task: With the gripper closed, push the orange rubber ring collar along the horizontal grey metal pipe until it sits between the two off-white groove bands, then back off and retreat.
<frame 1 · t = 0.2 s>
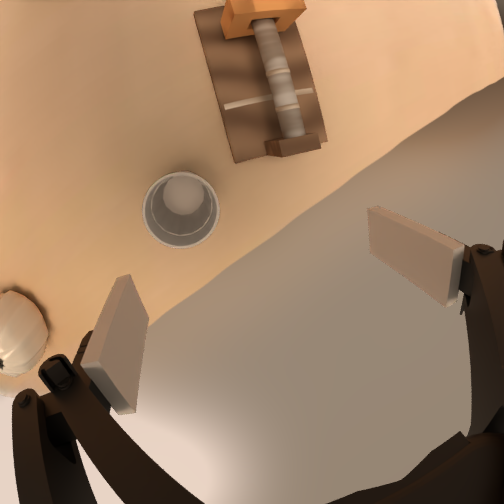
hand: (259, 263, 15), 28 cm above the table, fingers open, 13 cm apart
vase: (24, 314, 40), on the table
cup: (183, 192, 40), on the table
pipe stand: (261, 73, 36), on the table
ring: (259, 14, 26), point 7 cm above the table, slide at 0.0 cm
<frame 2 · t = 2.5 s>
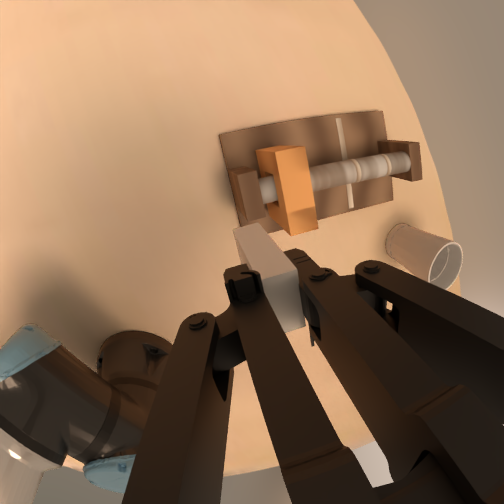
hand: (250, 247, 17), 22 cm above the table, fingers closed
cup: (398, 240, 46), on the table
pipe stand: (316, 167, 38), on the table
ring: (284, 185, 31), point 7 cm above the table, slide at 0.0 cm
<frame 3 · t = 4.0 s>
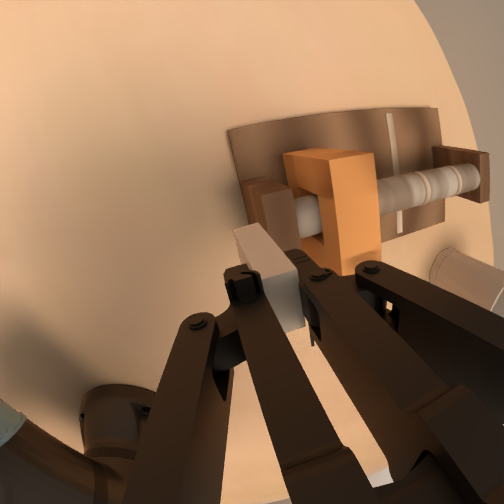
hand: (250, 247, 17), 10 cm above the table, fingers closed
cup: (443, 268, 35), on the table
pipe stand: (359, 179, 28), on the table
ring: (329, 210, 20), point 7 cm above the table, slide at 0.0 cm
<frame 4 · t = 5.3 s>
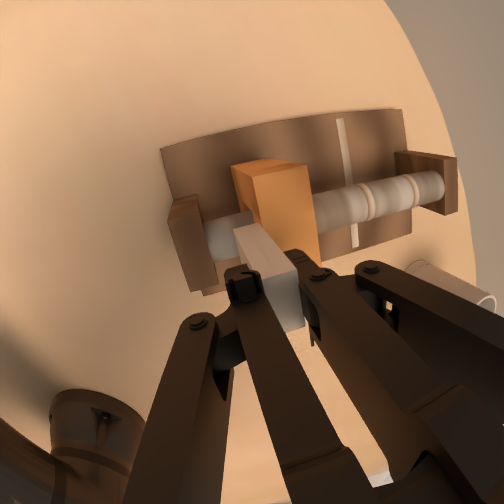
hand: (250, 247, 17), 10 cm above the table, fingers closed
cup: (414, 281, 35), on the table
pipe stand: (307, 191, 27), on the table
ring: (273, 225, 20), point 7 cm above the table, slide at 1.6 cm, touching gripper
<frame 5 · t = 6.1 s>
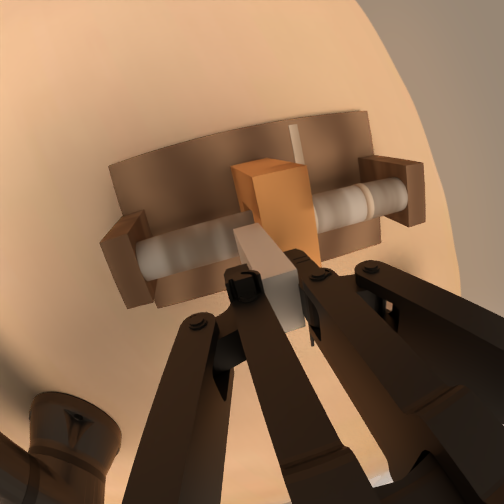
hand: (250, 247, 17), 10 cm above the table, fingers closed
pipe stand: (260, 202, 27), on the table
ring: (273, 225, 20), point 7 cm above the table, slide at 6.3 cm, touching gripper
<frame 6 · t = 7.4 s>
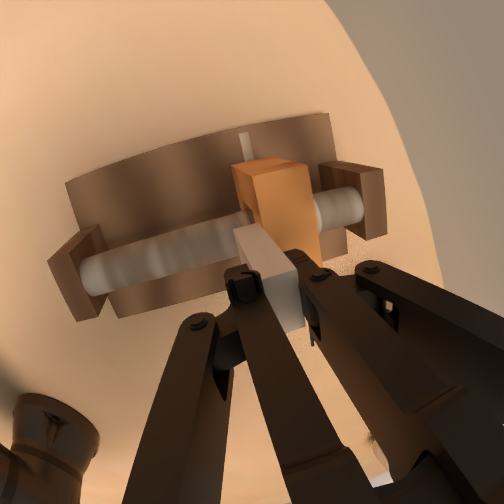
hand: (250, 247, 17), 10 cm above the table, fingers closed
pipe stand: (213, 214, 26), on the table
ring: (273, 224, 20), point 7 cm above the table, slide at 10.7 cm, touching gripper
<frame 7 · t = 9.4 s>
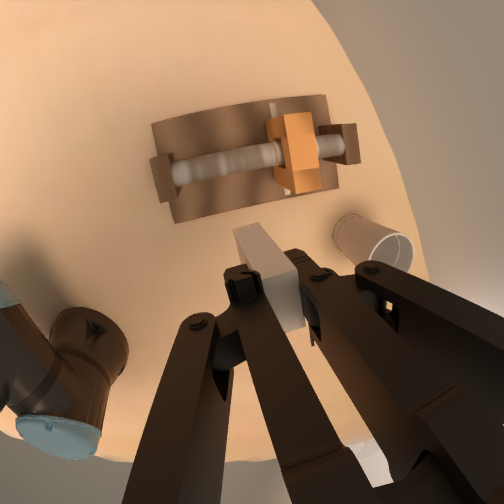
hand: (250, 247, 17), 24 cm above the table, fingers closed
cup: (349, 232, 46), on the table
pipe stand: (249, 153, 38), on the table
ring: (291, 150, 32), point 7 cm above the table, slide at 10.7 cm
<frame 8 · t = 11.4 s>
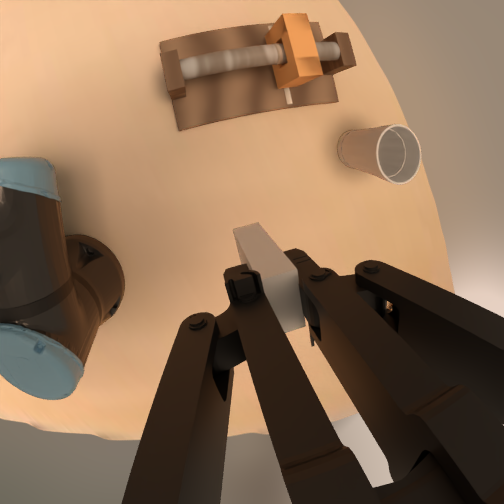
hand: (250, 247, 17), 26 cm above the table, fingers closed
cup: (353, 149, 43), on the table
pipe stand: (251, 68, 36), on the table
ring: (291, 52, 30), point 7 cm above the table, slide at 10.7 cm
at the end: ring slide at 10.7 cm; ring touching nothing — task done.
